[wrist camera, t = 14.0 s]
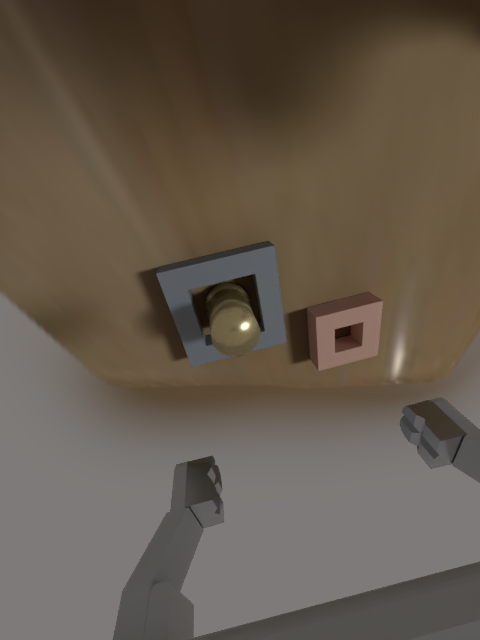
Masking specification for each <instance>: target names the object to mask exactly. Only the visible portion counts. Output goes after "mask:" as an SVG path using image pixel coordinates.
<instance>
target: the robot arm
mask: <svg viewBox="0 0 480 640" xmlns="http://www.w3.org/2000/svg"><path fill="white" fill-rule="evenodd" d="M402 413H403V414H404V416H403V417H402V418H401V420H400V426H401V430H402V432H403V434H404V436H405V437H406V438H407V440H408V441H409V442H410V443H412V444H414V445H416V446H417V450H418V454H419V455H420V456H421V457H422V459H423V460H424V461H425V462H426V463H427V465H428V466H429V467H430V468H431V469H432V468H436V467H440V466H445V465H450V464H453V466H454V467H456V468H457V469H459V470H461V471H462V472H464V473H465V474H467V475H468V476H470V477H472V478H473V479H475V480H476V481H478V482H479V483H480V430H479V429H478V428H477V427H476V426H475V425H474V424H473V423H471V422H470V421H469V420H468V419H467V418H466V417H464V415H462V414H461V413H460V412H459V411H458V410H457V409H455V407H453V406H452V405H451V404H450V403H449V402H448V401H447V400H445V399H443V398H435V399H431V400H426V401H423V402H419V403H416V404H412V405H409V406H405V407H404V408H403V410H402ZM221 492H222V482H221V475H220V471H219V468H218V466H217V465H215V459H214V457H213V456H209V457H205V458H201V459H197V460H193V461H188V462H184V463H180V464H177V465H176V467H175V470H174V479H173V490H172V500H171V510H170V512H168V513H166V515H165V517H164V518H163V520H162V522H161V524H160V526H159V527H158V529H157V531H156V532H155V534H154V536H153V538H152V540H151V541H150V543H149V545H148V547H147V548H146V550H145V552H144V554H143V556H142V557H141V559H140V561H139V563H138V564H137V566H136V568H135V570H134V571H133V573H132V575H131V577H130V578H129V580H128V582H127V584H126V586H125V587H124V589H123V591H122V596H121V601H120V606H119V611H118V616H117V621H116V626H115V631H114V636H113V640H480V562H477V563H473V564H469V565H465V566H461V567H458V568H454V569H450V570H446V571H443V572H439V573H435V574H431V575H428V576H424V577H420V578H416V579H413V580H409V581H405V582H401V583H397V584H394V585H390V586H387V587H382V588H379V589H375V590H371V591H367V592H364V593H360V594H356V595H352V596H349V597H345V598H342V599H337V600H334V601H330V602H326V603H322V604H319V605H315V606H311V607H308V608H304V609H300V610H296V611H292V612H289V613H285V614H281V615H277V616H274V617H270V618H267V619H262V620H259V621H255V622H252V623H247V624H244V625H240V626H237V627H232V628H229V629H225V630H221V631H218V632H214V633H210V634H206V635H202V636H199V637H195V638H193V631H194V630H193V629H194V605H193V604H192V603H191V601H190V600H188V599H187V598H186V597H185V596H184V595H183V594H182V593H180V590H181V588H182V585H183V582H184V580H185V577H186V575H187V572H188V569H189V567H190V564H191V561H192V559H193V556H194V554H195V551H196V548H197V546H198V543H199V541H200V538H201V535H202V533H203V528H206V527H210V526H213V525H217V524H220V523H223V522H224V510H223V501H222V499H221V498H220V494H221Z"/></svg>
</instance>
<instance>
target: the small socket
mask: <svg viewBox="0 0 480 640" xmlns="http://www.w3.org/2000/svg"><path fill="white" fill-rule="evenodd" d="M382 307H383V300H381V299H380V298H378V297H376V296H375V295H373V294H371V293H370V292H367V293H363V294H359V295H355V296H351V297H347V298H343V299H339V300H335V301H331V302H327V303H323V304H319V305H315V306H311V307H307V319H308V334H309V348H310V359H311V360H312V362H313V363H314V365H315V366H316V368H317V369H318V371H320V370H324V369H328V368H332V367H336V366H339V365H343V364H347V363H351V362H355V361H358V360H362V359H366V358H370V357H374V356H377V355H378V346H379V336H380V326H381V317H382ZM350 325H351V334H350V335H348V336H344V337H341V338H337V339H335V329H338V328H342V327H346V326H350Z"/></svg>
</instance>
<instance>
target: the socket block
mask: <svg viewBox="0 0 480 640" xmlns="http://www.w3.org/2000/svg"><path fill="white" fill-rule="evenodd" d="M156 275H157V278H158V280H159V283H160V285H161V288H162V291H163V293H164V296H165V299H166V301H167V304H168V306H169V309H170V312H171V314H172V317H173V319H174V322H175V325H176V327H177V330H178V333H179V335H180V338H181V340H182V343H183V346H184V348H185V351H186V354H187V356H188V359H189V361H190V364H191V367H193V366H197V365H201V364H205V363H209V362H213V361H217V360H221V359H224V358H228V357H232V356H227V355H224V354H222V353H220V352H219V351H217V350H216V348H215V347H214V346H213V343H212V340H211V335H207V336H205V334H204V331H203V328H202V325H201V322H200V318H199V315H198V312H197V309H196V306H195V303H194V300H193V297H192V293H191V289H195V288H199V287H203V286H207V285H211V284H215V283H219V282H223V281H227V280H232V279H236V278H240V277H244V276H248V275H252V276H253V282H254V287H255V293H256V298H257V304H258V310H259V315H260V321H261V322H258V325H259V327H260V332H261V335H260V339H259V342H258V344H257V345H256V346H255V348H254V349H253V350H251V351H250V352H252V351H256V350H259V349H263V348H267V347H271V346H275V345H279V344H283V343H287V341H286V333H285V325H284V317H283V309H282V301H281V293H280V284H279V276H278V268H277V260H276V252H275V245H274V244H272V243H271V242H269V241H266V242H262V243H258V244H254V245H250V246H245V247H241V248H237V249H233V250H229V251H225V252H220V253H216V254H212V255H208V256H204V257H199V258H195V259H191V260H187V261H183V262H178V263H174V264H170V265H166V266H162V267H159V268H158V271H157V273H156Z"/></svg>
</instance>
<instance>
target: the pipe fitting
mask: <svg viewBox="0 0 480 640" xmlns="http://www.w3.org/2000/svg"><path fill="white" fill-rule="evenodd" d="M205 312H206V315H207V317H208V319H209V320H210V330H211V340H212V343H213V346H214V347H215V348H216V350H217V351H219V352H220V353H222V354H224V355H227V356H241V355H244V354H246V353H248V352H250V351H251V350H253V349H254V348H255V346H256V345H257V344H258V342H259V339H260V335H261V332H260V327H259V325H258V323H257V320H256V318H255V316H254V314H253V312H252V309H251V300H250V297H249V295H248V293H247V291H246V290H245V289H244V288H243V287H242V286H241V285H239V284H237V283H233V282H223V283H220V284H217V285H216V286H214V287H213V288H212V289H211V290H210V291H209V292H208V294H207V295H206V298H205Z"/></svg>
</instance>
